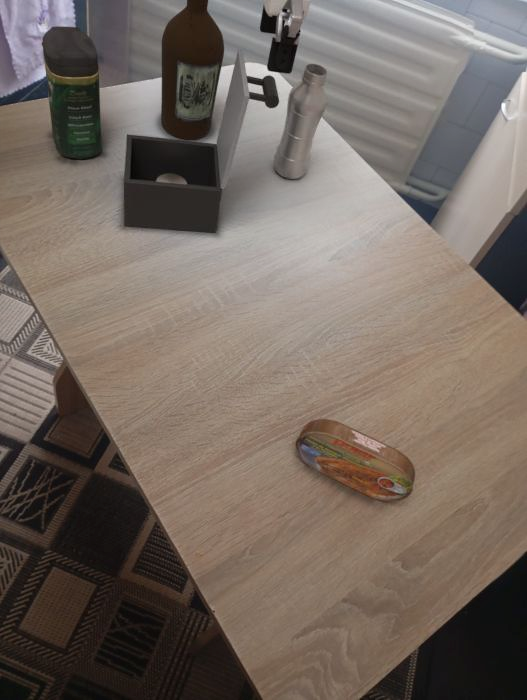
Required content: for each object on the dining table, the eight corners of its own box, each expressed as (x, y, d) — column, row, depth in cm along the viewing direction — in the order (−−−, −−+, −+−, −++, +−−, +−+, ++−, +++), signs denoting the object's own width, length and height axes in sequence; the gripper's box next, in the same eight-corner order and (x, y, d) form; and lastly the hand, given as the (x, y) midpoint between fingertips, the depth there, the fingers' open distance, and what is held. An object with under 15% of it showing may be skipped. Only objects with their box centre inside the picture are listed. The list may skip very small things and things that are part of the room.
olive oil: (152, 109, 109) (157, -35, 89) (204, 108, 113) (221, -30, 93) (165, 143, 104) (174, -1, 84) (219, 141, 108) (241, 2, 88)
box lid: (244, 95, 74) (285, 104, 75) (238, 49, 80) (276, 57, 82) (220, 188, 86) (256, 194, 87) (216, 141, 92) (250, 147, 94)
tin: (287, 456, 73) (304, 426, 66) (296, 437, 74) (313, 406, 68) (395, 510, 71) (423, 485, 64) (401, 489, 73) (429, 462, 66)
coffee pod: (154, 210, 92) (155, 192, 89) (155, 190, 95) (156, 171, 92) (185, 213, 93) (187, 195, 90) (185, 193, 96) (186, 174, 93)
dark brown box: (124, 226, 90) (124, 182, 83) (127, 178, 97) (127, 134, 90) (215, 233, 93) (222, 191, 86) (211, 186, 100) (218, 143, 93)
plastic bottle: (299, 188, 104) (330, 86, 88) (265, 174, 105) (290, 70, 89) (309, 169, 108) (341, 68, 92) (277, 156, 108) (303, 53, 92)
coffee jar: (106, 159, 98) (102, 54, 84) (59, 163, 96) (46, 55, 81) (95, 126, 103) (89, 20, 88) (49, 128, 100) (36, 19, 85)
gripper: (264, -139, 65) (241, 15, 79) (281, -80, 56) (252, 84, 70) (326, -126, 67) (293, 22, 81) (353, -66, 57) (311, 91, 71)
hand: (274, 51), depth 75 cm, fingers open, 9 cm apart
